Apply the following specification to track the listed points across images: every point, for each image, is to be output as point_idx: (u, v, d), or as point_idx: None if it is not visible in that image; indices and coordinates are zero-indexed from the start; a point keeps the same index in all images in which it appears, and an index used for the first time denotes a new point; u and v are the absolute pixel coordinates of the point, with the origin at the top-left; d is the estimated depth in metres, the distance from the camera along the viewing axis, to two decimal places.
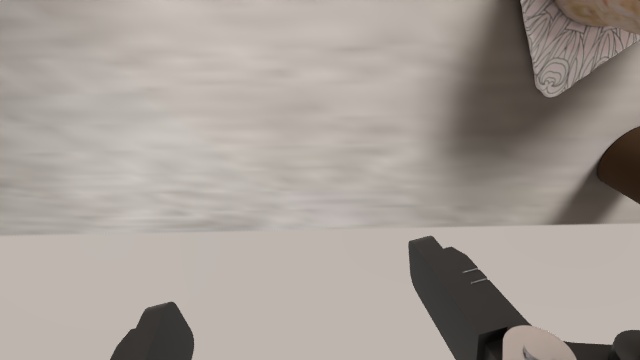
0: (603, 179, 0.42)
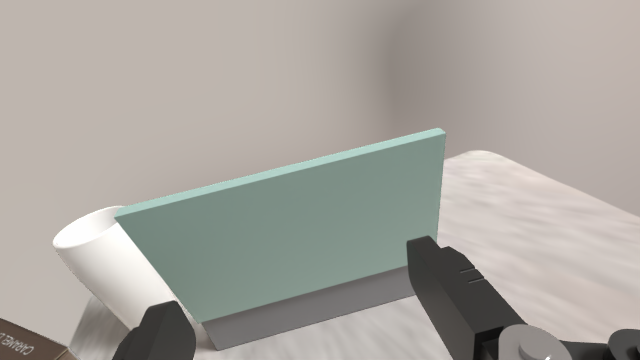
0: None
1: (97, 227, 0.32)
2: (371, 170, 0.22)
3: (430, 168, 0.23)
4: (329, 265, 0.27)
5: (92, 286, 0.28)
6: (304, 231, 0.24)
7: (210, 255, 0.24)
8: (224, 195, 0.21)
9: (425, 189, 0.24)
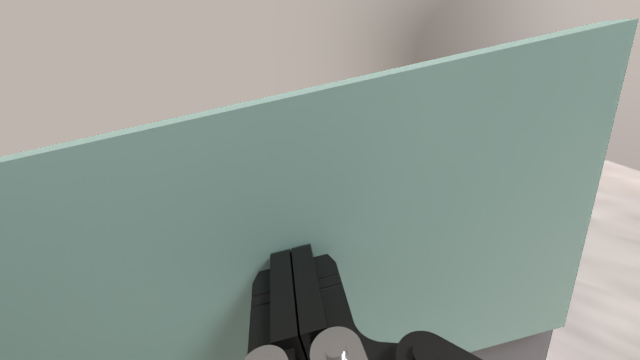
0: None
1: None
2: (458, 110, 0.09)
3: (589, 116, 0.10)
4: None
5: None
6: None
7: (91, 312, 0.11)
8: (103, 158, 0.08)
9: (569, 170, 0.11)
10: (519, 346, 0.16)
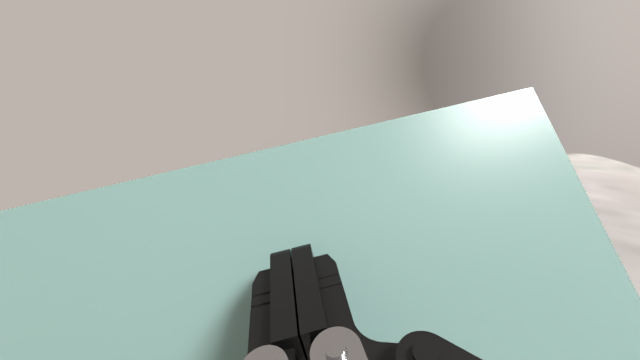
0: None
1: None
2: (423, 146, 0.13)
3: (538, 147, 0.13)
4: None
5: None
6: None
7: (107, 333, 0.11)
8: (174, 182, 0.13)
9: (551, 193, 0.12)
10: None
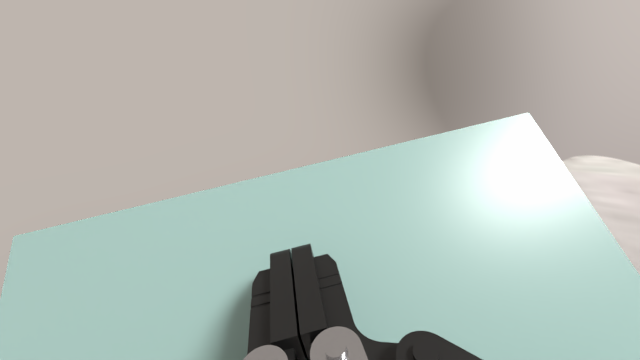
0: None
1: None
2: (425, 168, 0.13)
3: (540, 168, 0.13)
4: None
5: None
6: None
7: (106, 359, 0.11)
8: (184, 205, 0.13)
9: (559, 212, 0.12)
10: None
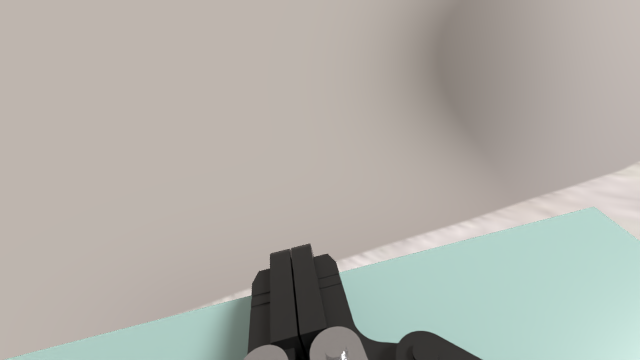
0: None
1: None
2: (484, 274, 0.11)
3: None
4: None
5: None
6: None
7: None
8: (194, 322, 0.11)
9: None
10: None
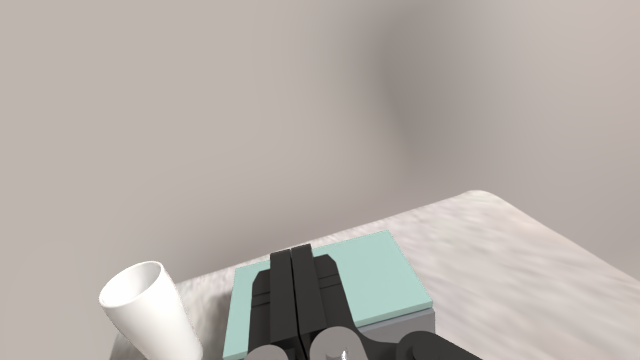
0: None
1: (133, 279, 0.36)
2: (354, 245, 0.44)
3: (388, 242, 0.43)
4: None
5: (132, 338, 0.32)
6: None
7: None
8: None
9: (390, 251, 0.42)
10: (419, 323, 0.34)
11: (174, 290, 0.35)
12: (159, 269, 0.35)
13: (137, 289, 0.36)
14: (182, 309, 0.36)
